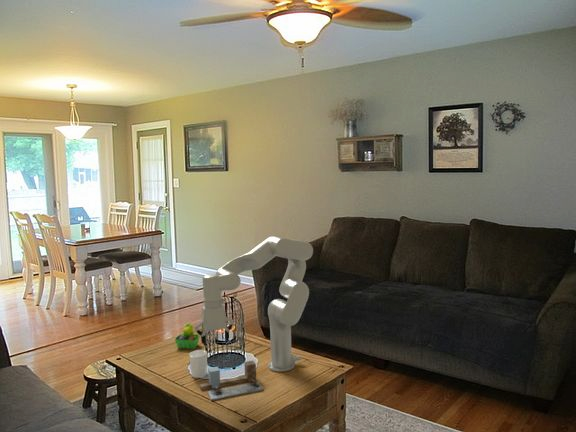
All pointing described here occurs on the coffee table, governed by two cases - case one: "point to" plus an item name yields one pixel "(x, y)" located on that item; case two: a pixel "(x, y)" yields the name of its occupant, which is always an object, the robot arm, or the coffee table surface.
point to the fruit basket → (187, 338)
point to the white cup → (198, 363)
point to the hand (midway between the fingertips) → (215, 342)
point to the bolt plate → (235, 391)
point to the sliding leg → (214, 377)
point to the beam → (249, 376)
